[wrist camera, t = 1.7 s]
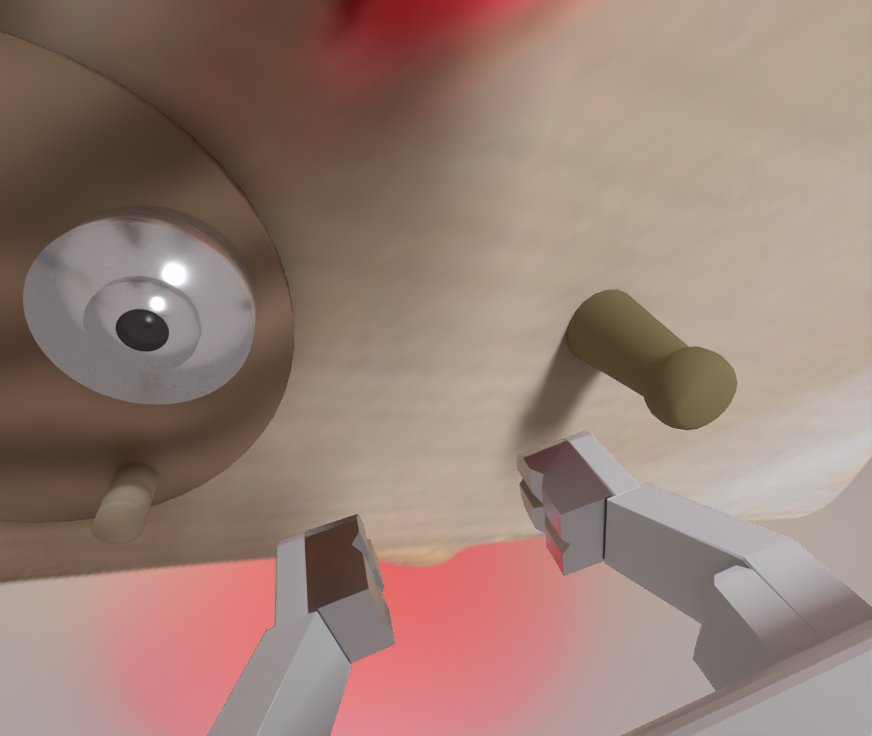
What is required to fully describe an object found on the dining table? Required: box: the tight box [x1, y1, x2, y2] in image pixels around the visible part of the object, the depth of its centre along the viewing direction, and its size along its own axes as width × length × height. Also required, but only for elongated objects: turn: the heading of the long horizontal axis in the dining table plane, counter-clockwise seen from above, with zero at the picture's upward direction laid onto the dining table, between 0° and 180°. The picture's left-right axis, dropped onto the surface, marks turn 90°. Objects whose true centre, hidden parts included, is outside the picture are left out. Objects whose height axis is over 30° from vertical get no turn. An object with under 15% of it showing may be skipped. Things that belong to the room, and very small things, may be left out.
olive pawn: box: [567, 290, 737, 430], centre depth 31 cm, size 6×6×11 cm
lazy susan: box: [0, 32, 294, 543], centre depth 22 cm, size 26×26×6 cm
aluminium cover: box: [23, 205, 257, 405], centre depth 22 cm, size 9×9×4 cm
